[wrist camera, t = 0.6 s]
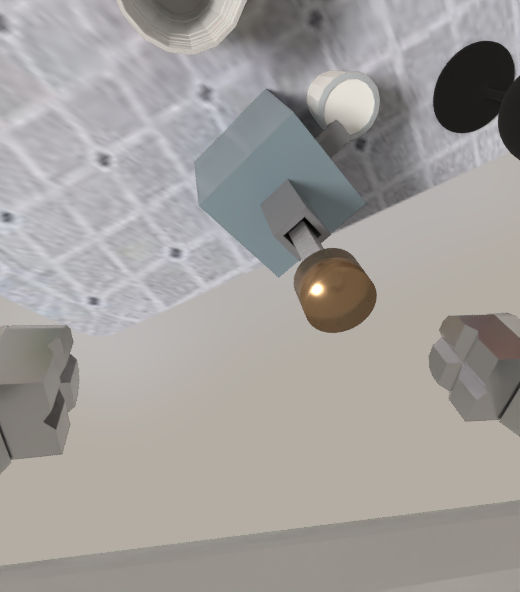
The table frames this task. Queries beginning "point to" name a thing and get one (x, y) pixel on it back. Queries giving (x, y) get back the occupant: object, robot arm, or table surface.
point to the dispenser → (275, 181)
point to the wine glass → (480, 92)
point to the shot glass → (344, 101)
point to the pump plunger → (330, 284)
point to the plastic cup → (183, 22)
